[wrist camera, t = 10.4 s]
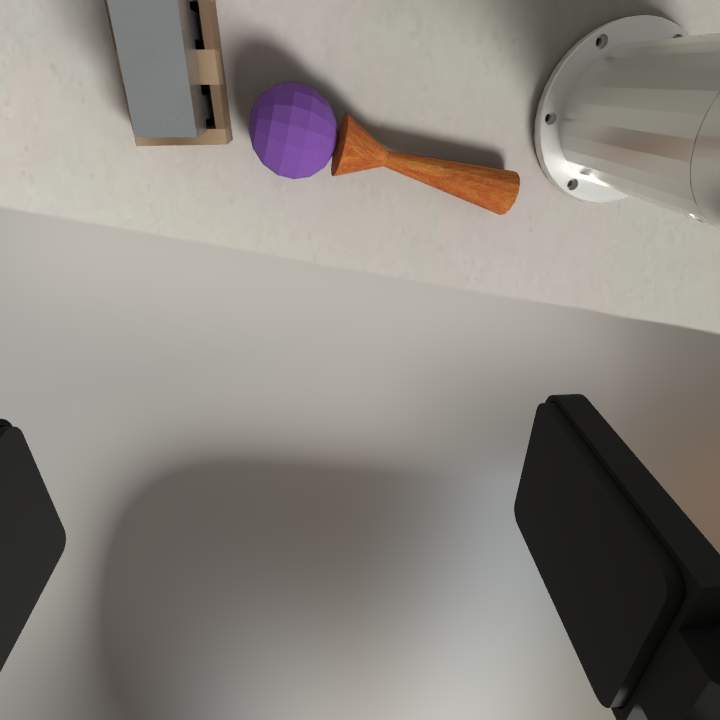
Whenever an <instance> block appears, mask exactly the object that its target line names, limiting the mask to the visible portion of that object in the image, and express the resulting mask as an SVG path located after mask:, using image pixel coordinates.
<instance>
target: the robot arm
mask: <svg viewBox="0 0 720 720" xmlns="http://www.w3.org/2000/svg"><path fill="white" fill-rule="evenodd" d="M597 39H598V44H597V46H596V40H597ZM547 114H548V115H549V118H548V120H547V121H545V117H546V115H547ZM534 140H535V147H536V153H537V157H538V160H539V163H540V165H541V168H542V170H543V172H544V173H545V175H546V176H547V178H548V179H549V181H550V182H551V183H552V184H553V185H554V186H555V187H556V188H557V189H558V190H560V191H562V192H563V193H565V194H567V195H568V196H570V197H573V198H575V199H578V200H580V201H585V202H591V203H608V202H613V201H617V200H622V199H624V198H627V197H629V196H632V197H635V198H638V199H641V200H643V201H646V202H649V203H652V204H654V205H657V206H660V207H663V208H665V209H668V210H671V211H674V212H676V213H679V214H682V215H684V216H687V217H690V218H693V219H695V220H698V221H701V222H704V223H706V224H709V225H712V226H715V227H718V228H720V33H715V34H706V35H697V36H689V35H688V33H687V32H686V31H685V30H683V29H682V28H681V27H680V26H678V25H677V24H676V23H674V22H672V21H669V20H667V19H665V18H662V17H658V16H650V15H639V16H630V17H625V18H621V19H617V20H613V21H611V22H609V23H606V24H604V25H602V26H600V27H598V28H596V29H594V30H593V31H591V32H590V33H589V34H587V35H586V36H584V37H583V38H581V39H580V40H579V41H578V42H577V43H576V44H575V45H574V46H573V47H572V48H571V49H570V50H569V51H568V52H567V53H566V54H565V55H564V57H563V58H562V59H561V61H560V62H559V63H558V65H557V66H556V67H555V69H554V71H553V72H552V74H551V76H550V78H549V80H548V82H547V83H546V85H545V88H544V90H543V93H542V96H541V98H540V101H539V104H538V109H537V114H536V119H535V135H534ZM569 181H570V184H569V185H567V184H568V182H569ZM514 512H515V518H516V522H517V524H518V527H519V529H520V531H521V533H522V535H523V538H524V540H525V542H526V544H527V546H528V548H529V551H530V553H531V555H532V557H533V559H534V561H535V564H536V566H537V568H538V570H539V573H540V575H541V577H542V579H543V581H544V583H545V586H546V588H547V590H548V592H549V594H550V597H551V599H552V601H553V603H554V605H555V607H556V609H557V612H558V614H559V616H560V618H561V621H562V623H563V625H564V627H565V629H566V631H567V633H568V636H569V638H570V640H571V642H572V645H573V647H574V649H575V651H576V653H577V656H578V658H579V660H580V662H581V664H582V666H583V669H584V671H585V673H586V675H587V677H588V680H589V682H590V684H591V686H592V688H593V691H594V693H595V695H596V697H597V698H598V700H599V701H600V703H601V704H602V705H603V706H604V707H606V708H611V709H612V711H613V713H614V715H615V717H616V720H720V554H719V553H718V552H717V551H716V550H715V548H714V547H713V546H712V545H711V544H710V542H709V541H708V540H707V539H706V538H705V537H704V535H703V534H702V533H701V532H700V531H699V530H698V528H697V527H696V526H695V525H694V524H693V523H692V521H691V520H690V519H689V518H688V517H687V515H686V514H685V513H684V512H683V511H682V510H681V508H680V507H679V506H678V505H677V504H676V503H675V502H674V500H673V499H672V498H671V497H670V496H669V494H668V493H667V492H666V491H665V490H664V489H663V487H662V486H661V485H660V484H659V483H658V481H657V480H656V479H655V478H654V477H653V476H652V474H651V473H649V471H648V470H647V469H646V468H645V466H644V465H643V464H642V463H641V461H640V460H639V459H638V458H637V457H636V456H635V454H634V453H633V452H632V451H631V450H630V449H629V447H628V446H627V445H626V444H625V443H624V442H623V440H622V439H621V438H620V437H619V436H618V434H617V433H616V432H615V431H614V430H613V429H612V427H611V426H610V425H609V424H608V423H607V422H606V420H605V419H604V418H603V417H602V416H601V415H600V413H599V412H598V411H597V410H596V409H595V408H594V406H593V405H592V404H591V403H590V402H589V401H588V399H587V398H586V397H585V396H583V395H581V394H570V395H551V396H549V397H548V399H547V400H546V402H545V403H541V404H539V406H538V407H537V410H536V415H535V419H534V423H533V428H532V432H531V436H530V440H529V445H528V449H527V453H526V457H525V462H524V466H523V470H522V474H521V479H520V483H519V487H518V492H517V496H516V500H515V506H514ZM65 543H66V534H65V530H64V528H63V526H62V523H61V521H60V519H59V517H58V514H57V512H56V509H55V507H54V505H53V502H52V500H51V498H50V495H49V493H48V491H47V488H46V486H45V484H44V482H43V479H42V477H41V475H40V472H39V470H38V468H37V465H36V463H35V461H34V459H33V456H32V454H31V451H30V449H29V447H28V444H27V442H26V440H25V438H24V435H23V433H22V432H21V430H20V429H19V428H18V427H13V426H12V425H11V423H10V422H8V421H7V420H4V419H0V671H1V670H2V668H3V665H4V664H5V662H6V660H7V658H8V656H9V654H10V652H11V650H12V649H13V647H14V645H15V643H16V641H17V639H18V637H19V635H20V633H21V631H22V629H23V628H24V626H25V624H26V622H27V620H28V618H29V616H30V614H31V612H32V610H33V608H34V607H35V605H36V603H37V601H38V599H39V597H40V595H41V593H42V591H43V589H44V587H45V586H46V584H47V581H48V580H49V578H50V576H51V574H52V572H53V570H54V568H55V566H56V564H57V563H58V561H59V559H60V557H61V555H62V553H63V551H64V547H65Z"/></svg>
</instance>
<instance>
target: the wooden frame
mask: <svg viewBox="0 0 720 720" xmlns="http://www.w3.org/2000/svg"><path fill="white" fill-rule="evenodd" d="M189 2H190V5H199V12H200V19H201V26H202V33H203V40H204V48H205V50H196V54H197V61H198V68H199V76H200V83H201V85H210V90H211V98H212V105H213V112H214V119H215V125H212V126H206V127H207V132H206V133H204V134H202V135H200V136H198V137H135V135H134V138H135V143H136V146H161V145H218V144H228V143H229V142H230V141H232V140H233V138H232V130H231V122H230V114H229V106H228V98H227V90H226V82H225V74H224V66H223V58H222V50H221V43H220V35H219V27H218V19H217V11H216V3H215V0H189ZM105 5H106V9H107V14H108V19H109V23H110V28H111V32H112V37H113V42H114V46H115V51H116V55H117V60H118V65H119V69H120V74H121V78H122V83H123V88H124V92H125V97H126V101H127V96H126V91H125V86H124V81H123V76H122V71H121V67H120V62H119V57H118V52H117V47H116V42H115V37H114V32H113V28H112V23H111V18H110V13H109V8H108V3H107V0H105ZM127 106H128V101H127ZM128 110H129V106H128ZM129 115H130V110H129ZM130 120H131V115H130ZM131 124H132V120H131ZM132 129H133V125H132ZM133 133H134V130H133Z"/></svg>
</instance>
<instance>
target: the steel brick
mask: <svg viewBox="0 0 720 720" xmlns="http://www.w3.org/2000/svg"><path fill="white" fill-rule="evenodd" d="M107 3H108V8H109V13H110V18H111V23H112V28H113V32H114V37H115V42H116V47H117V52H118V57H119V62H120V67H121V71H122V76H123V81H124V86H125V91H126V96H127V101H128V106H129V110H130V115H131V120H132V125H133V130H134V135H135V137H198V136H200V135H202V134H204V133H206V132H207V127H206V120H207V119H209V118H211V117H214V112H213V105H212V98H211V94H202V90H201V83H200V76H199V68H198V61H197V54H196V46H195V41H204V40H203V33H202V26H201V19H200V15H199V14H197V13H195V12H194V11H192V10H190V2H189V0H107Z"/></svg>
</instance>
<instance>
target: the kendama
mask: <svg viewBox="0 0 720 720" xmlns="http://www.w3.org/2000/svg"><path fill="white" fill-rule="evenodd" d="M249 133H250V137H251V142H252V147H253V149H254V151H255V152H256V154H257V155H258V157H259V159H260V160H261V162H262V163H263V164H264V165H265V166H266V167H268V168H269V169H270V170H272V171H273V172H274V173H276V174H277V175H280V176H284V177H288V178H291V179H298V178H305V177H311V176H312V175H314V174H315V173H317V172H318V171H320V170H321V169H323V168H324V167H325V166H326V165H327V163H328V162H329V160H330V158H331V157H332V165H331V174H332V176H337V175H342V174H347V173H352V172H357V171H362V170H367V169H372V168H377V167H382V166H384V167H387V168H389V169H391V170H394V171H396V172H399V173H401V174H403V175H406V176H408V177H411V178H413V179H415V180H418V181H420V182H423V183H425V184H427V185H430V186H432V187H435V188H437V189H439V190H442V191H444V192H447V193H449V194H451V195H454V196H456V197H459V198H461V199H463V200H466V201H468V202H471V203H473V204H475V205H478V206H480V207H483V208H485V209H487V210H490V211H492V212H494V213H497V214H499V215H502V214H505V213H506V212H507V211H508V210H510V208H511V207H512V205H513V204H514V202H515V200H516V197H517V195H518V191H519V186H520V177H519V175H518V173H517V172H514V171H509V170H502V169H496V168H490V167H484V166H478V165H472V164H466V163H460V162H454V161H448V160H442V159H436V158H429V157H423V156H417V155H411V154H405V153H399V152H393V151H387V150H386V149H385V148H384V147H383V146H382V145H381V144H380V143H379V142H378V141H377V140H376V139H374V138H373V137H372V136H371V135H370V134H369V133H368V132H367V131H366V130H365V129H364V128H363V127H361V126H360V125H359V124H358V123H357V122H356V121H355V120H354V119H353V118H352V117H351V116H350V115H349V114H347V113H346V114H345V115H344V117H343V119H342V122H341V124H340V127H339V130H338V132H337V123H336V117H335V115H334V113H333V111H332V109H331V107H330V105H329V103H328V101H327V100H326V99H325V98H324V97H322V96H321V95H320V94H319V93H318V92H317V91H315V90H314V89H313V88H311V87H308V86H304V85H301V84H298V83H295V82H291V83H284V84H276V85H275V86H273V87H272V88H270V89H269V90H267V91H266V92H264V93H263V94H261V96H260V97H259V99H258V101H257V102H256V104H255V105H254V107H253V109H252V111H251V117H250V124H249ZM332 155H333V156H332Z"/></svg>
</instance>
